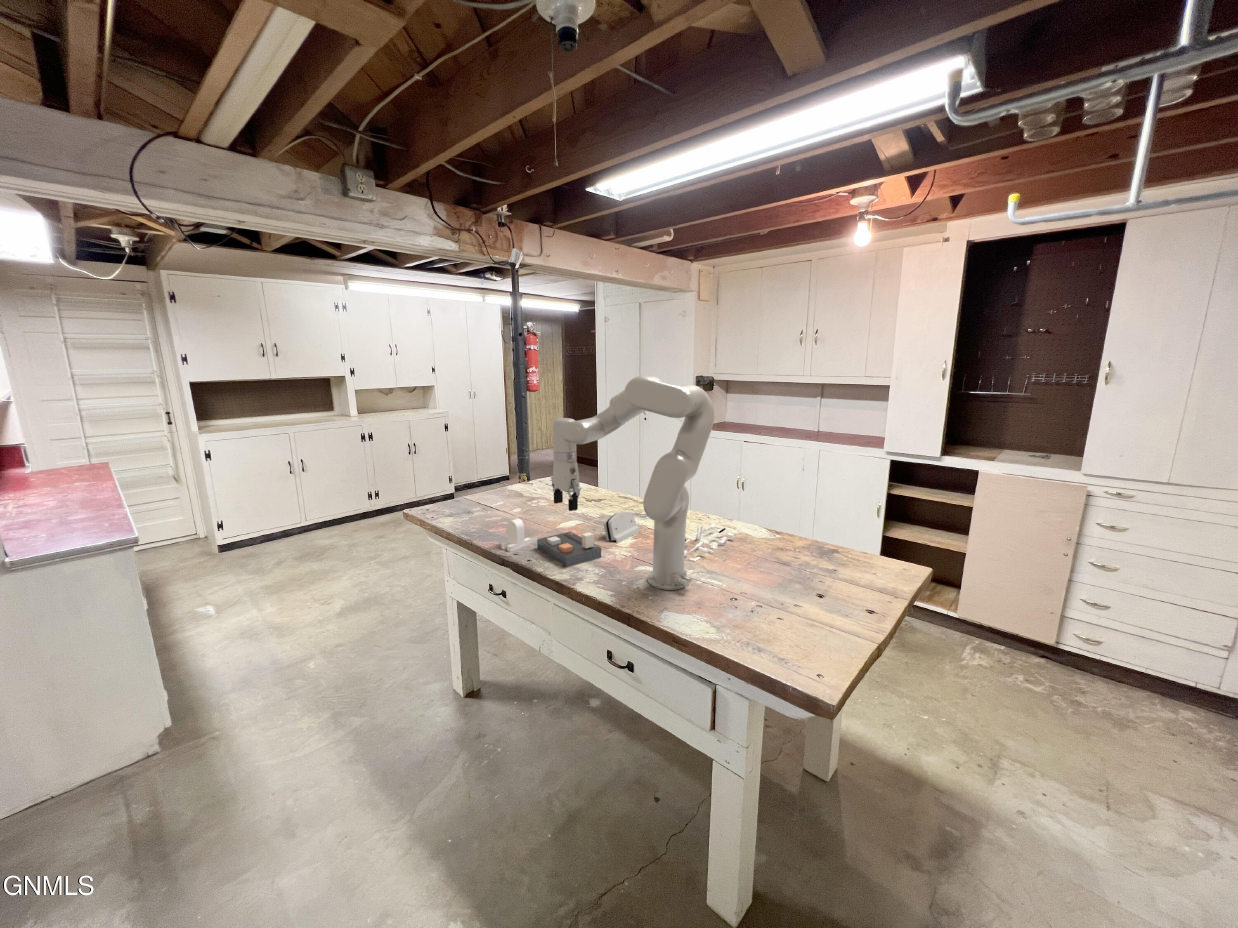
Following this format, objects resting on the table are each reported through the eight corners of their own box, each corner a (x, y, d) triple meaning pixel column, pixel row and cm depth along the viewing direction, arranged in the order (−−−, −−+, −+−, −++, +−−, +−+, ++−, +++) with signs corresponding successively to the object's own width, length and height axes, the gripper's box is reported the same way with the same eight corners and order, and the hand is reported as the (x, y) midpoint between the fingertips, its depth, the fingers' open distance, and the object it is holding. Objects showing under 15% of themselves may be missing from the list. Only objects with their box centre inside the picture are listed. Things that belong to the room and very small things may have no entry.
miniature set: (711, 529, 190) (738, 540, 183) (659, 560, 165) (689, 575, 158) (713, 514, 188) (741, 526, 181) (661, 544, 163) (691, 559, 156)
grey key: (560, 545, 167) (560, 539, 167) (552, 548, 165) (552, 541, 165) (555, 542, 170) (555, 536, 169) (547, 545, 168) (547, 538, 167)
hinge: (617, 543, 176) (609, 517, 176) (607, 545, 179) (600, 519, 179) (641, 530, 189) (634, 506, 189) (631, 532, 192) (625, 508, 192)
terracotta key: (573, 553, 161) (572, 546, 161) (564, 555, 159) (564, 548, 158) (567, 549, 164) (567, 543, 163) (558, 552, 162) (558, 545, 161)
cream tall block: (593, 546, 163) (593, 534, 162) (585, 548, 161) (585, 536, 160) (589, 544, 165) (589, 532, 164) (582, 546, 163) (581, 534, 162)
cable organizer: (531, 543, 175) (530, 517, 173) (510, 551, 168) (508, 525, 166) (521, 540, 179) (520, 515, 176) (500, 548, 171) (499, 521, 169)
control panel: (601, 557, 164) (601, 547, 163) (566, 567, 155) (566, 557, 154) (570, 540, 179) (570, 531, 178) (537, 548, 171) (537, 539, 170)
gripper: (589, 459, 150) (589, 511, 154) (561, 451, 164) (562, 498, 168) (568, 462, 146) (569, 515, 150) (542, 453, 160) (543, 502, 163)
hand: (565, 506), depth 159 cm, fingers open, 9 cm apart
